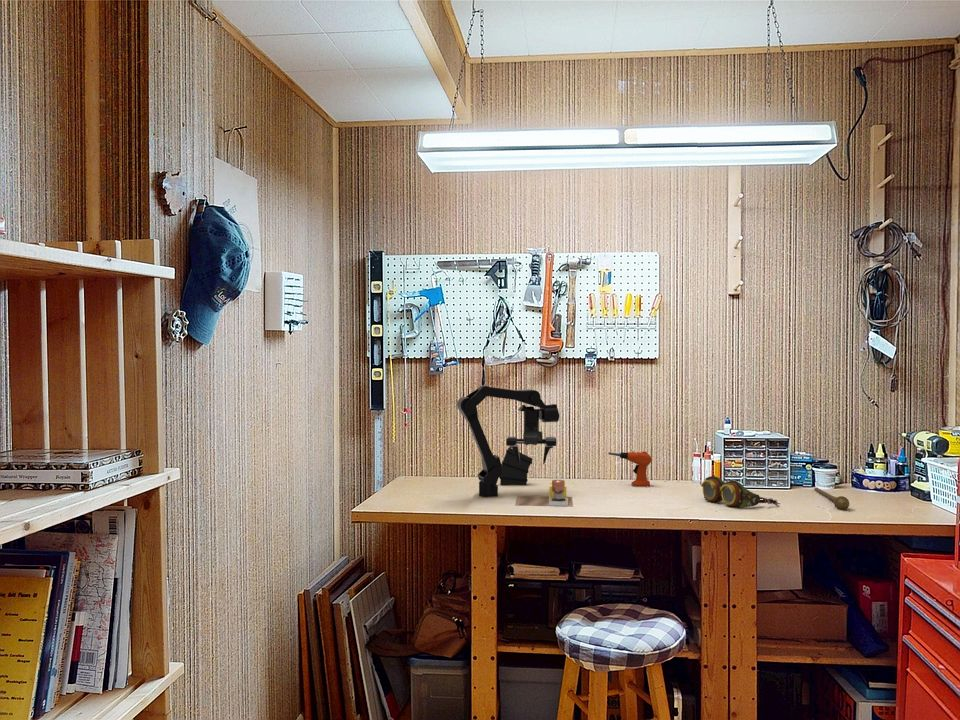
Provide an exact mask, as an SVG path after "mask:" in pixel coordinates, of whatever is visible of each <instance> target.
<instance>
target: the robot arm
mask: <svg viewBox="0 0 960 720" xmlns="http://www.w3.org/2000/svg"><path fill="white" fill-rule="evenodd" d="M487 397H490V398H498V399H504V400H505V399H506V400H514V401H516V402H519V403H522V404H521V406H520V407H519V408H518V409H517V410H518V411H519V412H523V435H522V436H523V437H522V438H518V436H508V437H507V438H506V440H505V441H506V443H505V445H506V446H507V447H510V448H512V449H513V450H514V452H515V454H516V457H517V460H518V463H519V464H520V456H519V452H520V448H519V444H520V445H521V444H523V445H525V446H530V445H532V446H536V445H539V444H540V445H541V444H542V445H544V451H543V452H544V453H543V460H542V461H543V462H542V464H543V465H545V464H546V460H547V457H548V453H549V452H550V450H551V449H553V448H554V447H557V437H556V436H545V438H544V437H543V431H542V430H541V431H540V421H541V422H542V423H558V422H559V420H560V413H559V408H558V404H557V403H552V404H545V402H544V401H543V400H542V397H541V393H540V392H539V391H538V390H535V389H529V388H528V389H527V388H526V389H507V388H500V387H494V386H488V385H484V384H483V385H480V386H479V387H478V388H476V389H475V390H474V391H472V392H470V393H469V394H467V395H466V396H462V397H459V399H458V401H457V403H456V407H457V409H458V411H459V412H460V414H461V415H462V416H463V418H464V420H465V422H467V424H468V427H469V429H470V432H471V434H472V437H473V438H474V441H475V444H476V447H477V449H478V452H479V454H480V457H481V464H482V465H481V466H482V469H481V471H479V472H478V474H477V478H478V481H479V482H478V496H479V497H483V498H493V497H494V498H495V497H498V496H499V485H498V484H497V483H498V481H499V479H500V476H501V475H502V472H503V470H502V467H503V465H502V461H501V459H500V456H499V455H496V454H493V452H492V449H491V447H490V445H489V442H488V440H487V437H486V435H485V433H484V432H485V431H484V430H483V427H482V425H481V422H480V421H479V415H478V414H479V413H478V408H477V406H478V405H479V404H481V403H482V402H483V401H484V399H486V398H487ZM525 404H526V405H529V406H526V405H525ZM535 407H537V408H535Z"/></svg>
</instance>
